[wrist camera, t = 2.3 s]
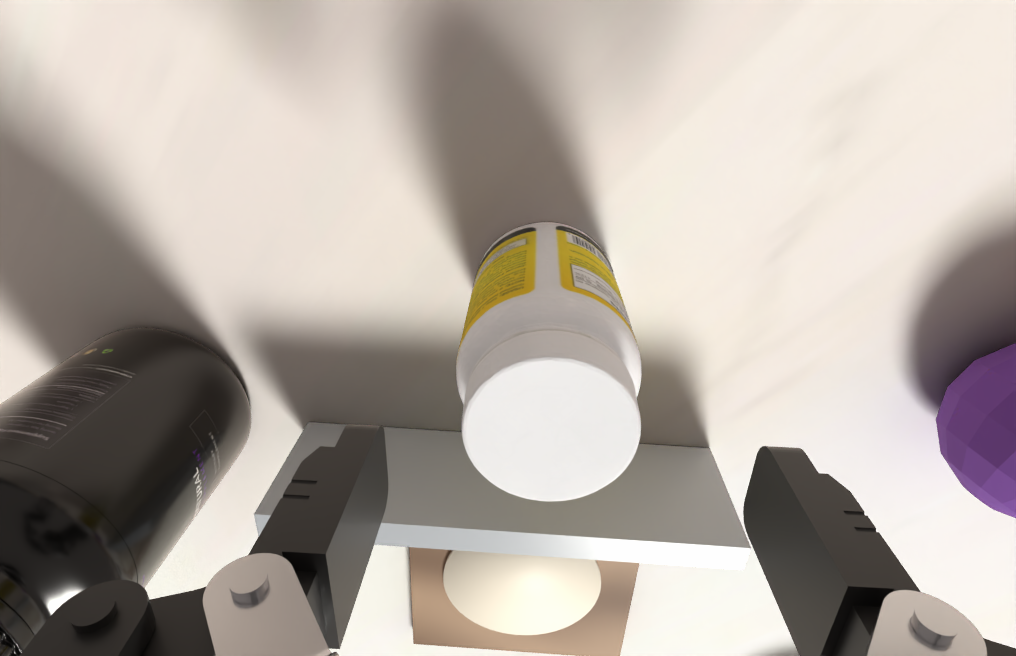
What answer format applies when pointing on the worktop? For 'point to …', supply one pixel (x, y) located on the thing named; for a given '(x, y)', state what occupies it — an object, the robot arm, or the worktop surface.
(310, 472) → the robot arm
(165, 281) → the worktop surface
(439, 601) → the walnut board
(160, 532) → the supplement bottle
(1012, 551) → the worktop surface
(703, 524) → the low wall
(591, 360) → the supplement bottle
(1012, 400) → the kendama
